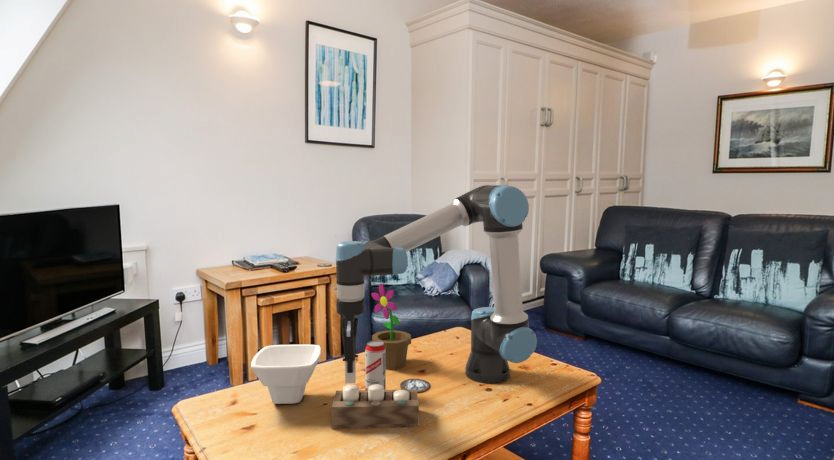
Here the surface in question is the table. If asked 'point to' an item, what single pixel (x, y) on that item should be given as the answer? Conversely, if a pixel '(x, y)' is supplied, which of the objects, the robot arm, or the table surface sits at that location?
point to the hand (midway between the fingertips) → (350, 382)
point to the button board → (375, 411)
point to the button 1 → (351, 393)
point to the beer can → (375, 364)
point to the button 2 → (401, 395)
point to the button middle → (376, 392)
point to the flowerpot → (391, 332)
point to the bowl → (286, 370)
